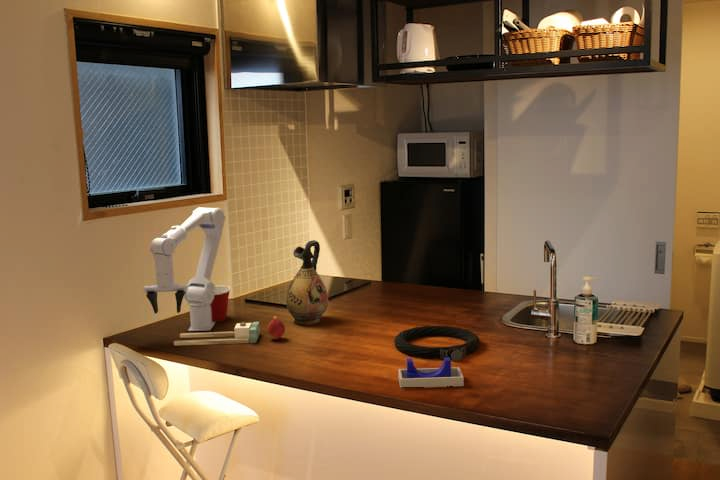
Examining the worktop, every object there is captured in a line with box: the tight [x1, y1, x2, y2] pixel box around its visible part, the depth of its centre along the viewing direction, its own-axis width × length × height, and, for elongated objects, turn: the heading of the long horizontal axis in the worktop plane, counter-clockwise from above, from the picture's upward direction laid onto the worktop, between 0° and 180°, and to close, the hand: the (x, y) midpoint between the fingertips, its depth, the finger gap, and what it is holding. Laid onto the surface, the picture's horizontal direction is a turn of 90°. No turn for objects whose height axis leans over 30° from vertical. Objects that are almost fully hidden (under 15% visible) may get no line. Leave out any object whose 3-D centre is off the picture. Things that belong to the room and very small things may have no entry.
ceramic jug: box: [285, 239, 329, 326], centre depth 261 cm, size 17×15×30 cm
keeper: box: [233, 321, 253, 339], centre depth 243 cm, size 6×5×5 cm
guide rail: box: [173, 321, 261, 346], centre depth 243 cm, size 10×27×4 cm, turn 91°
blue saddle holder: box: [406, 357, 452, 379], centre depth 198 cm, size 12×4×6 cm, turn 91°
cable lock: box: [393, 325, 481, 362], centre depth 228 cm, size 28×4×30 cm
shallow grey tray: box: [397, 366, 465, 389], centre depth 197 cm, size 8×17×2 cm, turn 91°
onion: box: [267, 316, 286, 341], centre depth 241 cm, size 6×6×8 cm
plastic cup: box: [210, 285, 232, 322], centre depth 268 cm, size 11×11×12 cm
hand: (167, 312), depth 243 cm, fingers open, 7 cm apart
